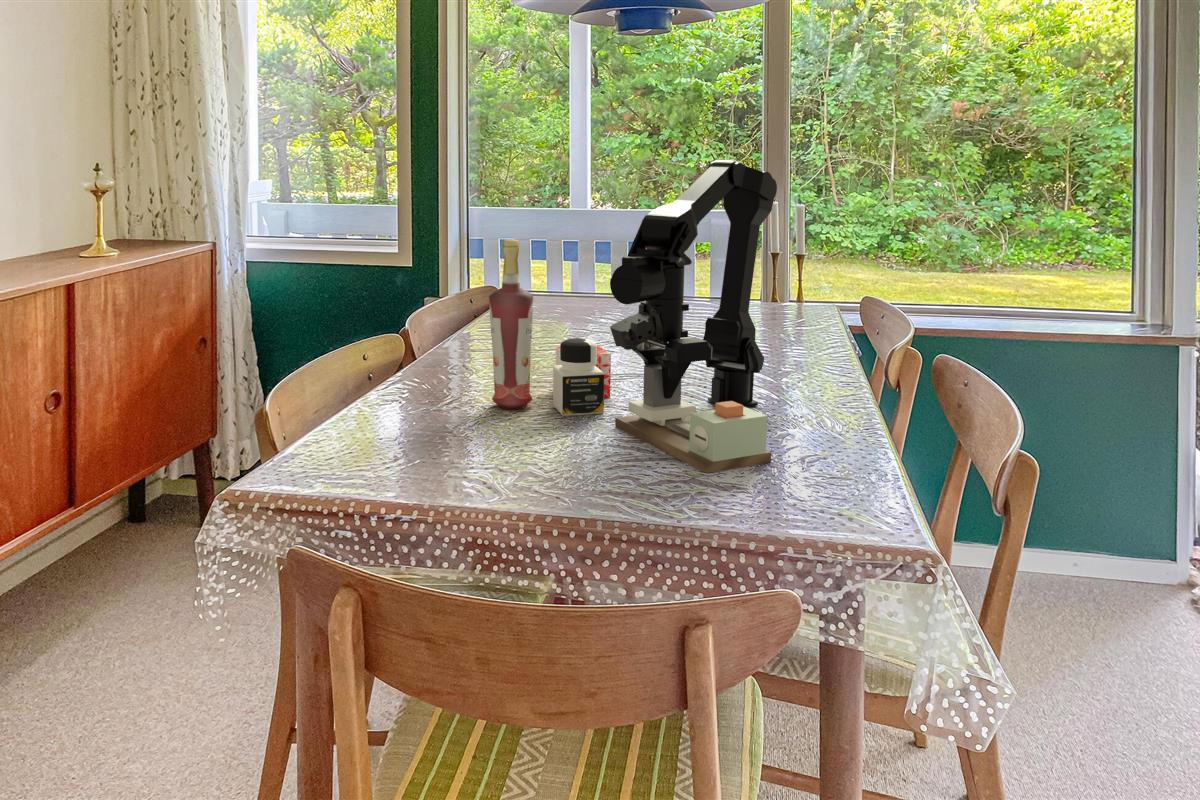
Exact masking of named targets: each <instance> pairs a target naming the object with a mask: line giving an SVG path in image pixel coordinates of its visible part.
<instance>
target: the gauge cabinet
mask: <svg viewBox="0 0 1200 800" xmlns="http://www.w3.org/2000/svg"><path fill="white" fill-rule="evenodd" d="M768 419H769V418H768V415H766V414H764V413H762V412H759V411H756V410H755V409H752V408H749V407H747V406H746V407H744V406H743V416H741V417H734V418H727V419H725V418H723V417H721V416H718V415H716V414H715V409H711V410H710V409H709V410H705V411H704V410H703V411H702V410H701V411H696V412H695V413H690V442H689V450H690V451H692V452H694V453H696V454H698V455H700V456H702V457H704V458H706V459H708V460H710V461H712V462H714V461H721V460H727V459H733V458H739V457H745V456H751V455H758V454H764V453H766V450H767V435H768Z"/></svg>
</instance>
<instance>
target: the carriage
mask: <svg viewBox="0 0 1200 800" xmlns="http://www.w3.org/2000/svg"><path fill="white" fill-rule="evenodd" d="M642 396H643V399H637V400H628V410H627V411H628V412H629V413H631V414H633V415H638V416H640V417H642V418H644V419H646V420H649V421H651V422H654V423H656V424H659V425H661V426H665V420H668V419H675V418H676V419H678V420H681V421H683V422H685V417H690V413H695V412H697V411H696V410H697V409H696V408H697V406H696V405H695V404H692V403H690V402H688V401H685V400H683V399H682V380H681V381H680V382H679V384H678V386H677V388H676V390H675V392H674V394H673V396H672V398H669V399H666V398H664V391H663V378H662V366H661V365H660V364H654V365H645V364H644V366H643V395H642Z"/></svg>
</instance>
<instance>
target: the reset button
mask: <svg viewBox="0 0 1200 800" xmlns="http://www.w3.org/2000/svg"><path fill="white" fill-rule="evenodd" d="M714 408H715V409H714V410H715V414H716V415H718V416H721V417H723V418H725V419H727V418H734V417H741V416H743V405H741V404H739V403H736V402H734V401H727V402H719V403H715V407H714Z"/></svg>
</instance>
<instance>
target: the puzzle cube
mask: <svg viewBox="0 0 1200 800" xmlns="http://www.w3.org/2000/svg"><path fill="white" fill-rule="evenodd" d="M611 357H612V354H611V352H609V351H607V350H606V349H604V348H603V347H601V346H599V345H598V344H597V359H596V365H595V366H596V367H597V368H599V369H600V370H601V371H602V372H603V373H604V399H605V398H611V375H612V373H611V369H612V368H611V364H612V363H611V362H612V361H611V359H612V358H611ZM555 365H561V364H560V347H559V346H557V347H555Z"/></svg>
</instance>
